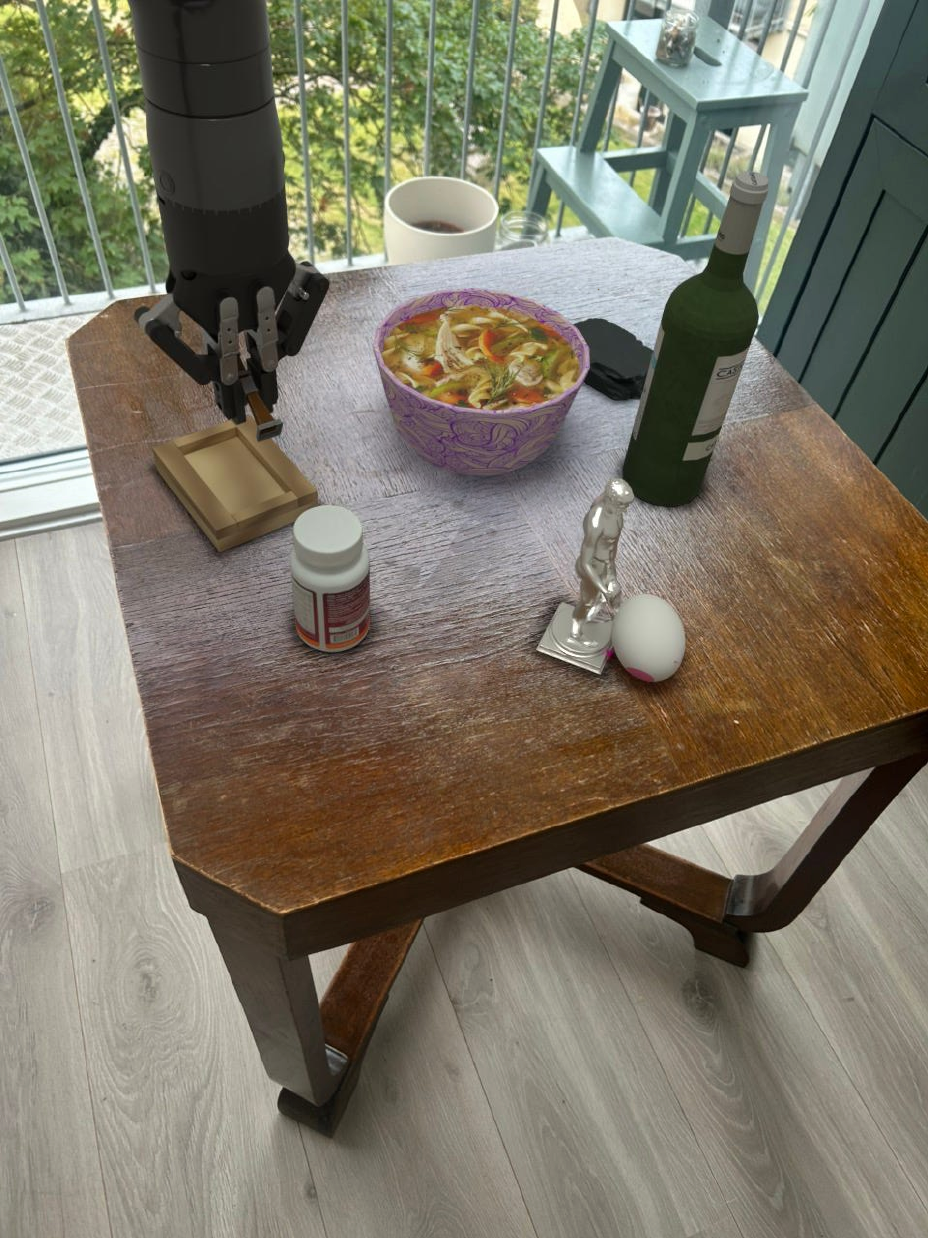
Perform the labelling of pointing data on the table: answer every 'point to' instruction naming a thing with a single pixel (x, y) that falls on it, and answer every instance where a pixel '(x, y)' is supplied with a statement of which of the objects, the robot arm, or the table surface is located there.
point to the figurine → (592, 586)
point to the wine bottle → (697, 360)
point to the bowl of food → (479, 377)
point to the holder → (234, 482)
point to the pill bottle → (330, 578)
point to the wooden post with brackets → (258, 406)
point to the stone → (614, 358)
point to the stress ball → (648, 637)
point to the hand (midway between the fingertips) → (248, 412)
